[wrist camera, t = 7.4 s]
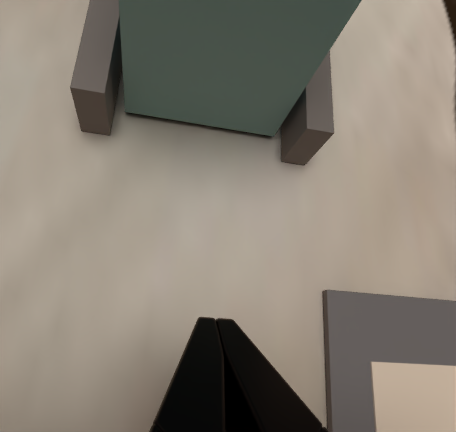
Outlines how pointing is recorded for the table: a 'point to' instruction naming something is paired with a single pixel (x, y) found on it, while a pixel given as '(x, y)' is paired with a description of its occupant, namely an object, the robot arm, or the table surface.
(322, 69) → the gray support stand
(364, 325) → the card
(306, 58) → the teal tall block
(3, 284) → the table surface
